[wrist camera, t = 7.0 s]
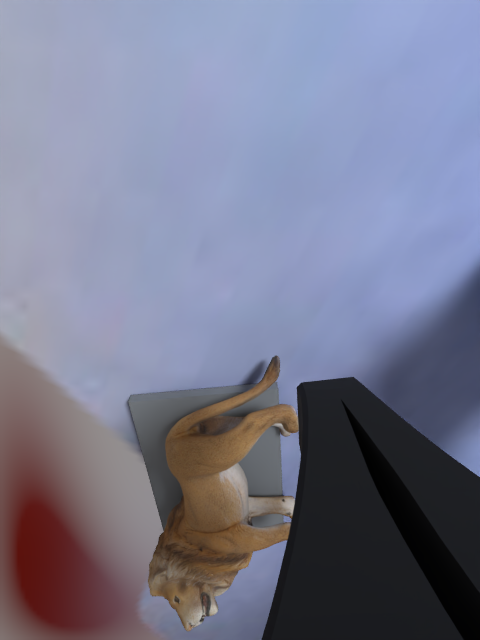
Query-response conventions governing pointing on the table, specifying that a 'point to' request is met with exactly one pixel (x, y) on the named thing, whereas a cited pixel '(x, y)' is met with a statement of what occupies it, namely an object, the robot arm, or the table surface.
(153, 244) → the table surface
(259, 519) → the rubber mat
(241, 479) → the lion figurine
